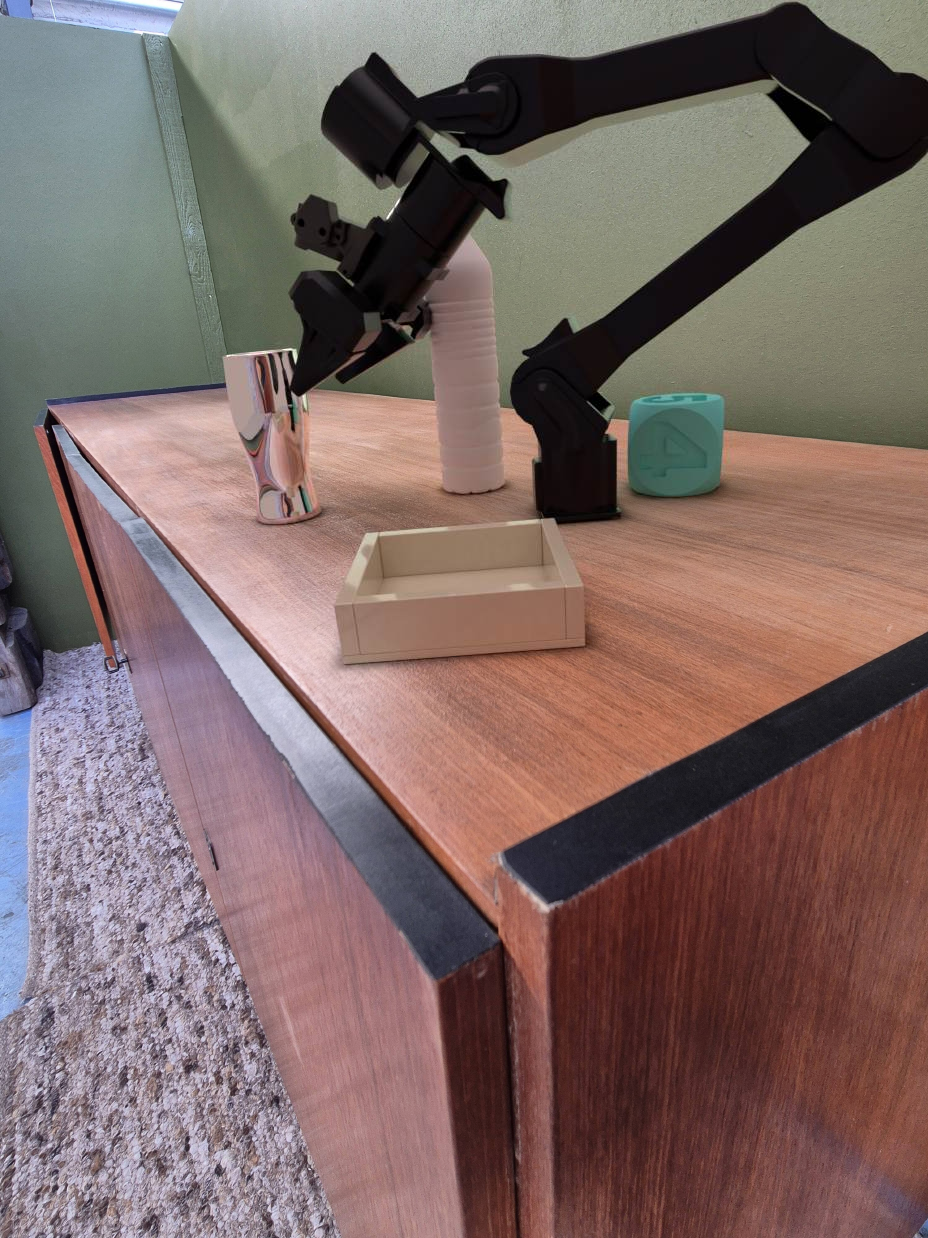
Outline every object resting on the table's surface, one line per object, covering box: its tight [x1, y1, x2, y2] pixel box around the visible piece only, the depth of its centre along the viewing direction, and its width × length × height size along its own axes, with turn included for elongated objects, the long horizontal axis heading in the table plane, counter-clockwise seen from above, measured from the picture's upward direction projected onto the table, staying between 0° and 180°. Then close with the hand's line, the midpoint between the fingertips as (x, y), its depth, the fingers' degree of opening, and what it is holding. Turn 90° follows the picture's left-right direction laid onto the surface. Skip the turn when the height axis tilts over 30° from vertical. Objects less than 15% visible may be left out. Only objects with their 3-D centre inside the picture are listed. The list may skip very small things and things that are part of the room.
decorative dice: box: [627, 392, 725, 498], centre depth 66 cm, size 8×8×8 cm
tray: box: [333, 518, 586, 665], centre depth 43 cm, size 13×13×4 cm
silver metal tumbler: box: [221, 348, 322, 525], centre depth 66 cm, size 7×7×15 cm
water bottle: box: [424, 233, 506, 495], centre depth 69 cm, size 9×6×25 cm
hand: (318, 386), depth 63 cm, fingers open, 9 cm apart
